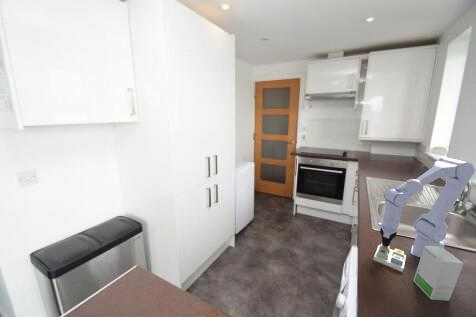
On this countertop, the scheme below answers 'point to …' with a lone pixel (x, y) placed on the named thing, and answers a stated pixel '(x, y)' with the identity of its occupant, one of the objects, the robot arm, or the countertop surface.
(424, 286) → the skincare box
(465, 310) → the countertop surface
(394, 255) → the key slate
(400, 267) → the keypad board
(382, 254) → the key sage
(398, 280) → the countertop surface
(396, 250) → the key mustard
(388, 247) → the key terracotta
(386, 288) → the countertop surface
